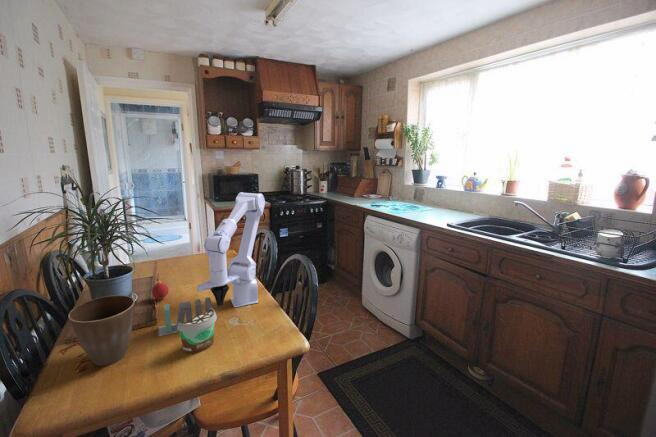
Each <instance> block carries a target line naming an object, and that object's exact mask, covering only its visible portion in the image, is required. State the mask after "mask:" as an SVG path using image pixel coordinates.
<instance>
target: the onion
mask: <svg viewBox="0 0 656 437" xmlns="http://www.w3.org/2000/svg"><path fill="white" fill-rule="evenodd" d="M151 295H152V297H153V298H154V299H156V300H159V301H162V300H164V299H165V298H166V297H167V295H169V287H168V285H167V284H165V283H163V281H162V280H159V281H158V282H157V283H156V284H155V285H154V286H153V287H152V289H151Z"/></svg>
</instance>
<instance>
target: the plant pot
mask: <svg viewBox="0 0 656 437" xmlns="http://www.w3.org/2000/svg"><path fill="white" fill-rule="evenodd" d="M134 314H135V299H134V298H133V297H132V296H129V295H123V294H120V295H119V294H116V295H105V296H101V297H98V298H93V299H91V300H87V301H85V302H83V303H80V304H79V305H77V306H75V307H74V308H73V309H71V310H70V312H69V313H68V316H67V317H68V320H69V322H70V325H71V328H72V329H73V332H74V334H75V337H76V339H77V341H78V342H79V344H80V347H82V349H83V350H84V352H85V354H86V355H87V357H89V359H90V360H91V361H92V363H94V365H95V366H98V367H105V366H110V365H113V364H115V363H118V362H119V361H120V360H122V359H124V357H125V355H126V352H127V350H128V347H129V343H130V340H131V335H132V330H133V323H134Z"/></svg>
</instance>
